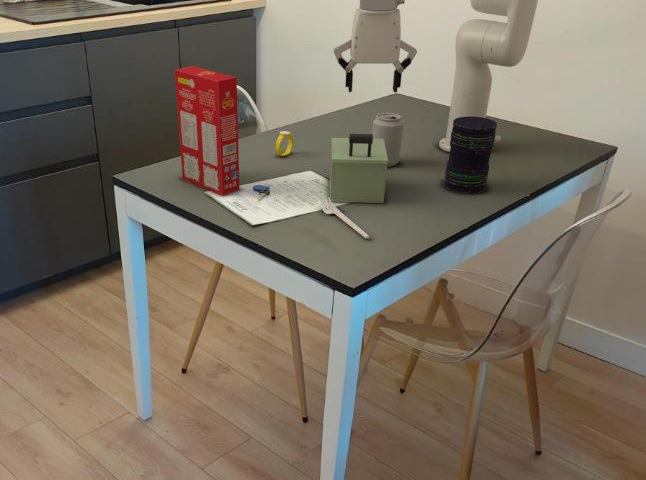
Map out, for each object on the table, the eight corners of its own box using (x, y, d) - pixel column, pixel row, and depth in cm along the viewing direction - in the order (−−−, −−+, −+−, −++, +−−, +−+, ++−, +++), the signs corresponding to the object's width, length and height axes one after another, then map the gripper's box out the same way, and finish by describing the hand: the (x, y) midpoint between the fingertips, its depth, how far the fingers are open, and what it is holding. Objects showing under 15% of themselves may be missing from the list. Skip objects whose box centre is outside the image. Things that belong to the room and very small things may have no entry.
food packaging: (239, 189, 164) (236, 77, 150) (222, 195, 161) (217, 81, 146) (199, 173, 172) (193, 66, 158) (182, 179, 169) (174, 69, 155)
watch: (281, 159, 182) (282, 136, 178) (273, 157, 183) (273, 134, 179) (295, 153, 186) (295, 130, 182) (286, 151, 187) (287, 128, 183)
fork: (360, 241, 141) (361, 232, 140) (316, 206, 156) (316, 198, 155) (374, 238, 142) (375, 230, 141) (329, 203, 157) (329, 195, 156)
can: (398, 168, 176) (403, 120, 169) (368, 166, 177) (372, 118, 170) (400, 159, 182) (405, 112, 175) (371, 157, 183) (375, 110, 177)
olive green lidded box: (383, 203, 158) (387, 162, 152) (329, 201, 158) (331, 161, 153) (379, 180, 169) (383, 142, 164) (329, 179, 170) (331, 141, 164)
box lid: (387, 163, 152) (390, 138, 148) (331, 162, 152) (333, 136, 149) (383, 142, 164) (385, 117, 161) (331, 140, 164) (332, 116, 161)
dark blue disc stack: (435, 182, 169) (444, 118, 160) (469, 176, 172) (479, 114, 163) (459, 196, 161) (470, 131, 153) (494, 190, 164) (506, 126, 156)
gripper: (419, -1, 144) (411, 86, 154) (335, -1, 145) (332, 86, 155) (423, 6, 138) (414, 95, 148) (335, 6, 139) (332, 95, 148)
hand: (372, 90), depth 151 cm, fingers open, 9 cm apart
